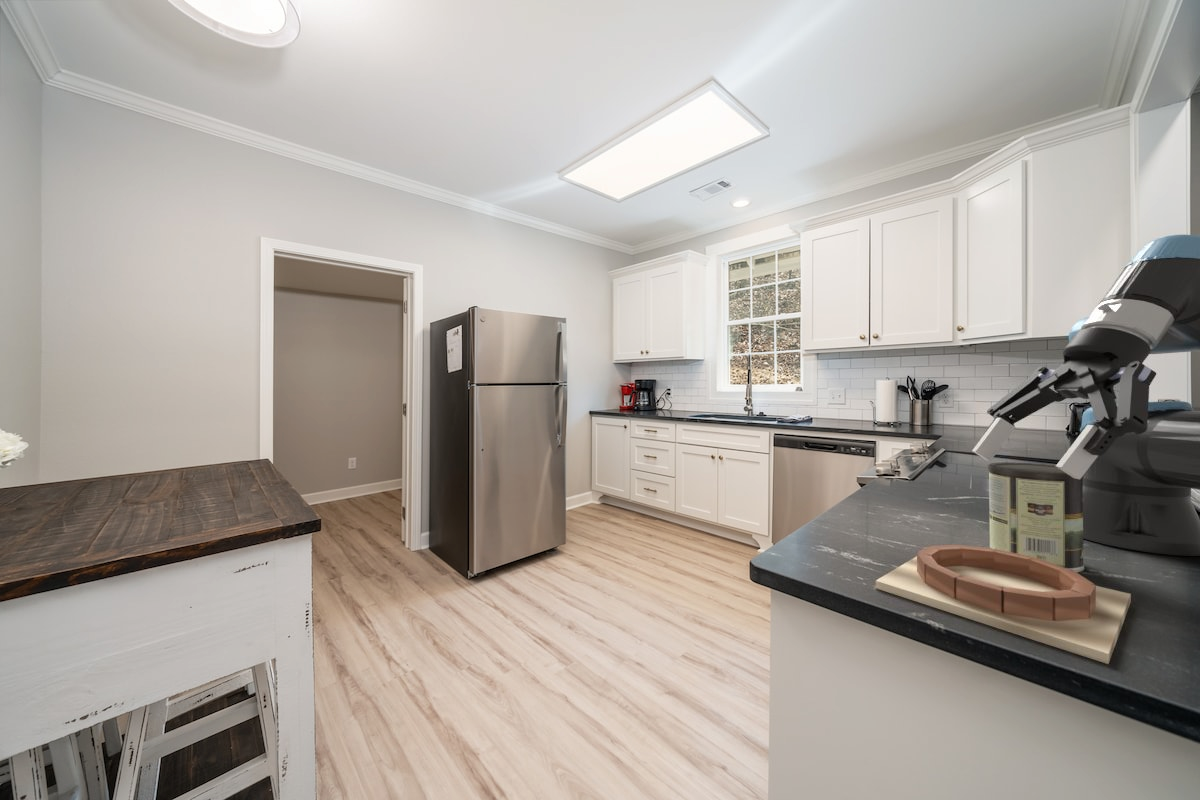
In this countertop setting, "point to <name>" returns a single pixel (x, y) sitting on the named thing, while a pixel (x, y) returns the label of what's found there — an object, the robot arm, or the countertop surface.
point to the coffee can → (1037, 512)
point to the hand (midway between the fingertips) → (1019, 463)
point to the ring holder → (1015, 596)
